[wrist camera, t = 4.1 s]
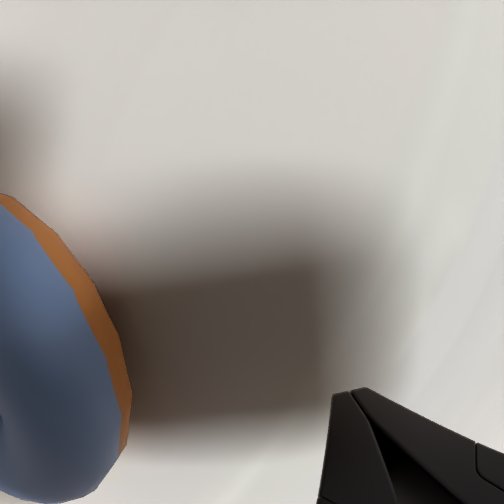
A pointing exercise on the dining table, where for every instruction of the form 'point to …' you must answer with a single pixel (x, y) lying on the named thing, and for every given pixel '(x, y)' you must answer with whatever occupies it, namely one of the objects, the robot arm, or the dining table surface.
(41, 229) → the doughnut
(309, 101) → the dining table surface
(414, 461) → the robot arm
